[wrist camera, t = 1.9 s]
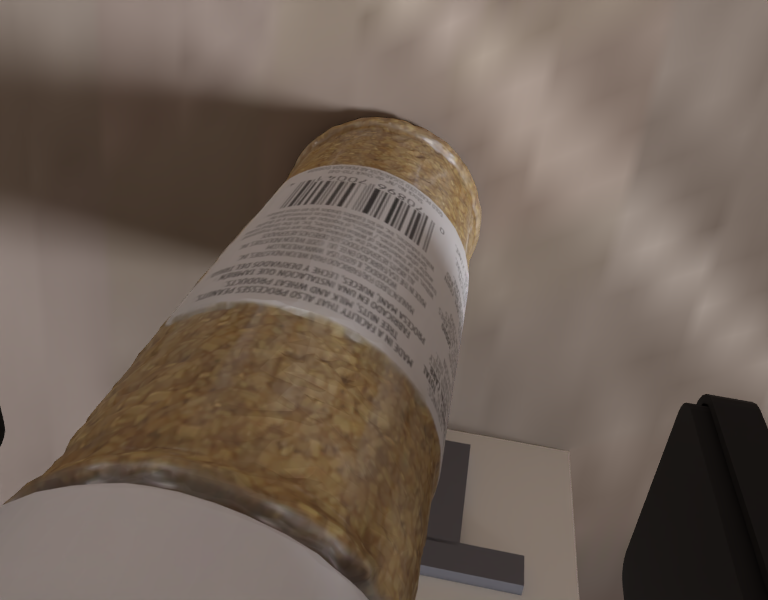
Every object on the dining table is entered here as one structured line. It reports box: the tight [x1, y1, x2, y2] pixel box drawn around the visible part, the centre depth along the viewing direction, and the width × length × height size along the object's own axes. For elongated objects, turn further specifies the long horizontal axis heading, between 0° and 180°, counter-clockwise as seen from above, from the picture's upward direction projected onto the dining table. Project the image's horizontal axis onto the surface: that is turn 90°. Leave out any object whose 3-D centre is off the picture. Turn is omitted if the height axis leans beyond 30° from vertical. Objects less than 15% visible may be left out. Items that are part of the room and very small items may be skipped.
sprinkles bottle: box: [0, 117, 481, 600], centre depth 11 cm, size 5×5×13 cm
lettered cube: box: [415, 429, 579, 600], centre depth 19 cm, size 6×6×6 cm
